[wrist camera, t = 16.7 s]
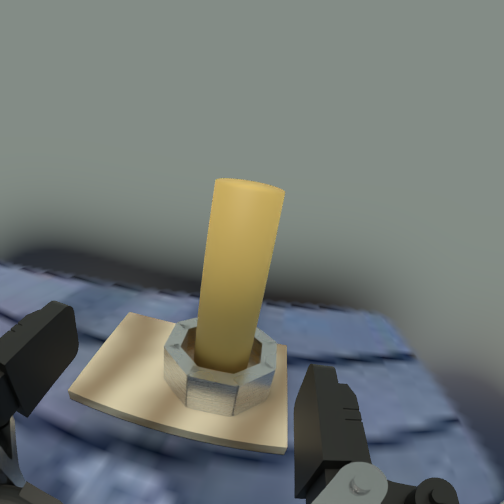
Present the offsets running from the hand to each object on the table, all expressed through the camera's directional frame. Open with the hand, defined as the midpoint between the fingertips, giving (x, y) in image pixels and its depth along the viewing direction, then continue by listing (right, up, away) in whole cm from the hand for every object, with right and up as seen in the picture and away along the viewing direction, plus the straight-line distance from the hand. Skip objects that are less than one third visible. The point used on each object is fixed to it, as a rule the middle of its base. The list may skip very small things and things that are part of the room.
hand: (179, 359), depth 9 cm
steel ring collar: (-1, -7, +16) cm, 17 cm away
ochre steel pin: (-1, -7, +15) cm, 17 cm away
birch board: (-3, -8, +16) cm, 18 cm away
